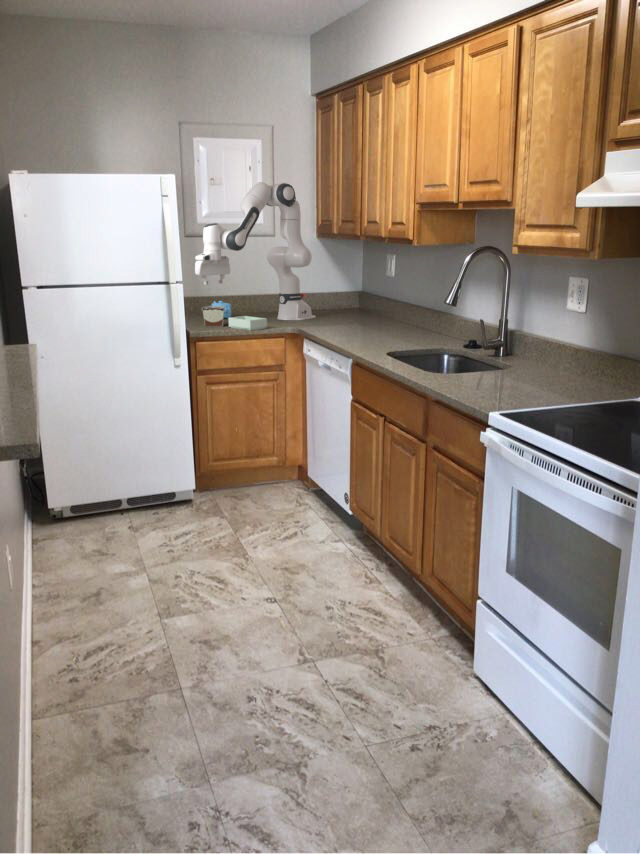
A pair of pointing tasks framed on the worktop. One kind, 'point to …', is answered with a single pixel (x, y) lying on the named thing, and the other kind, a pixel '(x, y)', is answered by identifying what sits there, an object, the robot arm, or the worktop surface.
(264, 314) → the worktop surface
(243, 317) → the crate
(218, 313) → the food container
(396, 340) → the worktop surface
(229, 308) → the teapot
